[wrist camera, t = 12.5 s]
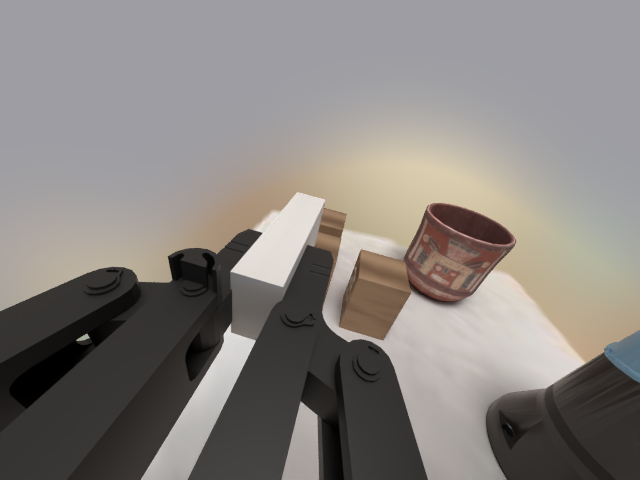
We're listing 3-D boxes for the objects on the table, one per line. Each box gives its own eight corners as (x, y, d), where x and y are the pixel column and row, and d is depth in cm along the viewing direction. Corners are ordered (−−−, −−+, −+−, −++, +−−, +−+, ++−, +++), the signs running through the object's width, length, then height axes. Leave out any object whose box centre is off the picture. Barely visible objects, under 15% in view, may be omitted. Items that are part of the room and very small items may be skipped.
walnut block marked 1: (303, 246, 59) (312, 204, 53) (334, 255, 59) (346, 214, 52) (295, 264, 52) (303, 219, 46) (329, 274, 52) (342, 230, 45)
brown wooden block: (292, 273, 50) (300, 226, 43) (327, 284, 49) (341, 238, 43) (279, 300, 43) (287, 249, 37) (320, 312, 43) (335, 263, 36)
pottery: (389, 254, 64) (416, 195, 54) (449, 267, 65) (486, 211, 55) (404, 303, 49) (445, 234, 39) (481, 319, 50) (540, 255, 40)
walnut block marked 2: (342, 295, 47) (359, 249, 41) (381, 306, 47) (404, 261, 41) (338, 326, 41) (357, 277, 34) (382, 340, 40) (411, 293, 34)
